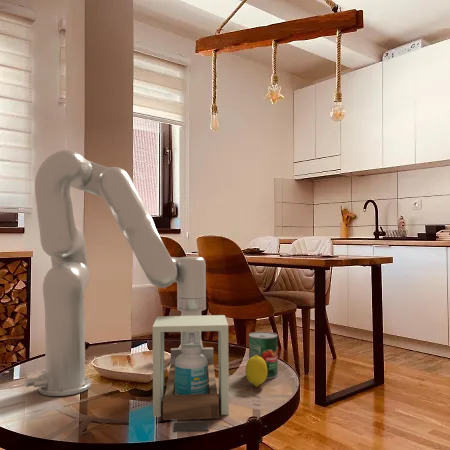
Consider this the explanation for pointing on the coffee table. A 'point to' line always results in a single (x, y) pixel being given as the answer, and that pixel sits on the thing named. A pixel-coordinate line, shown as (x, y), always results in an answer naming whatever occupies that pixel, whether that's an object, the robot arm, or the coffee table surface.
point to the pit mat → (190, 426)
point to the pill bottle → (191, 371)
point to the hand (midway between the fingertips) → (192, 373)
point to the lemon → (256, 370)
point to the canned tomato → (265, 350)
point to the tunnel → (188, 325)
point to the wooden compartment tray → (191, 403)
